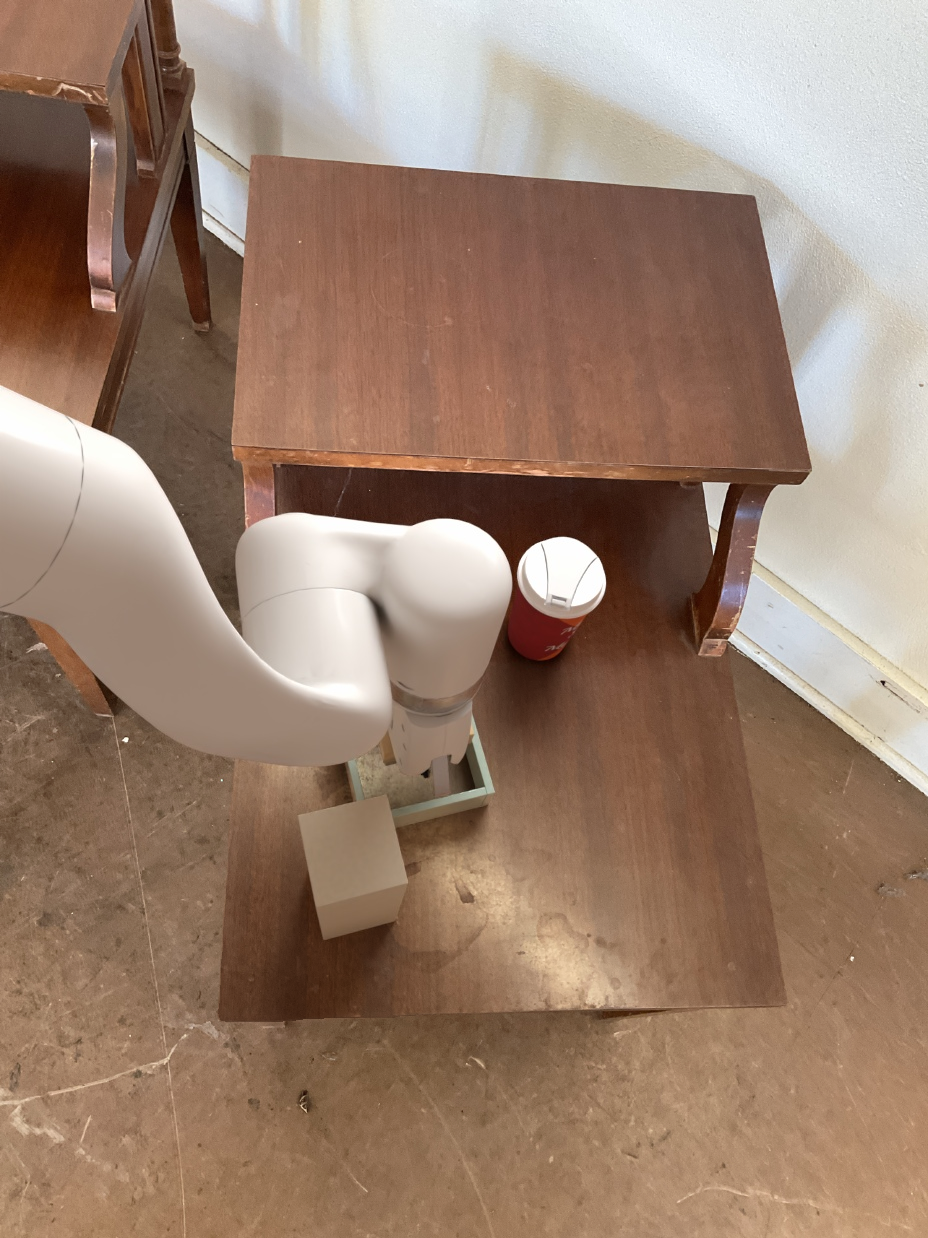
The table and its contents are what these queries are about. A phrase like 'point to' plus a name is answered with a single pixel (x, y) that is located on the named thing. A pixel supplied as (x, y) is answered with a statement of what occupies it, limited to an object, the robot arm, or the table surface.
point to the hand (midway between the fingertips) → (415, 740)
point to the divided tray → (444, 804)
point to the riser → (354, 865)
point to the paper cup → (553, 596)
